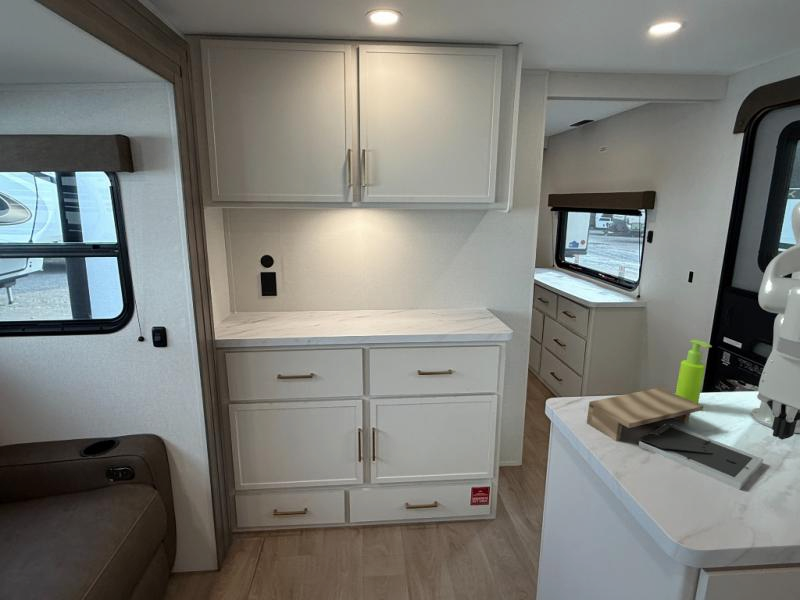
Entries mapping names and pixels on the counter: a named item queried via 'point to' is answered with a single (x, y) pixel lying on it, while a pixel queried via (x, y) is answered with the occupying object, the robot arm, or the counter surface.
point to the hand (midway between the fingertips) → (781, 436)
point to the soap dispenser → (691, 373)
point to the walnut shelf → (638, 410)
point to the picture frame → (702, 454)
